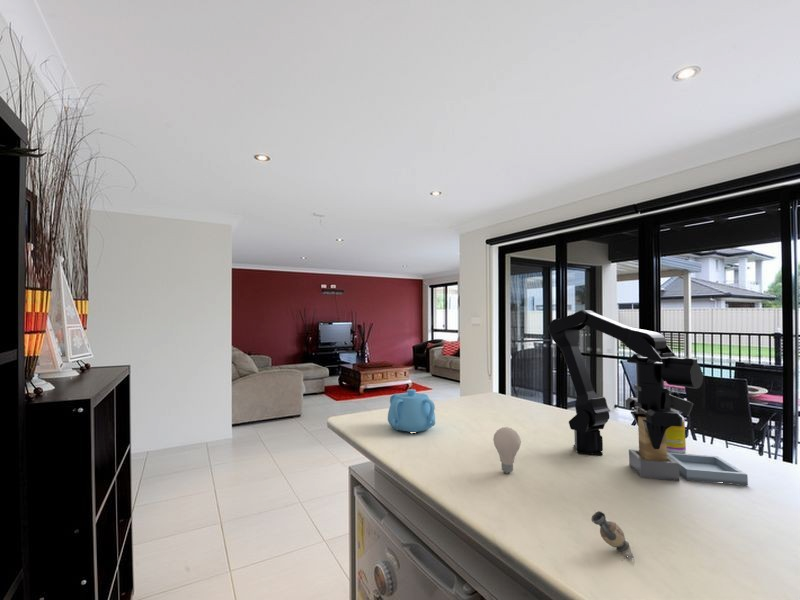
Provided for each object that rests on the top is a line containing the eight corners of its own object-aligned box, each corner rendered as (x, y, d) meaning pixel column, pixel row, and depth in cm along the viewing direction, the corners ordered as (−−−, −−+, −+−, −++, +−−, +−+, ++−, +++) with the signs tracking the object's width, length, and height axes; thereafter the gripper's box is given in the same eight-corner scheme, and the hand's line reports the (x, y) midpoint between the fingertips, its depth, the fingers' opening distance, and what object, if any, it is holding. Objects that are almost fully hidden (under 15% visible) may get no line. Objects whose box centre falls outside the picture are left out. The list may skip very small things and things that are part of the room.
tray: (687, 480, 89) (686, 469, 89) (664, 461, 100) (664, 452, 100) (747, 485, 86) (747, 474, 86) (717, 466, 97) (717, 456, 97)
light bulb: (521, 469, 95) (520, 425, 95) (521, 479, 89) (520, 432, 89) (494, 466, 97) (494, 422, 98) (492, 476, 91) (491, 429, 91)
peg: (646, 467, 91) (644, 421, 92) (639, 460, 96) (637, 416, 96) (667, 468, 90) (665, 422, 91) (659, 462, 95) (657, 417, 95)
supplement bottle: (690, 455, 106) (689, 408, 106) (664, 453, 107) (662, 407, 108) (678, 447, 112) (676, 403, 113) (653, 445, 113) (652, 402, 114)
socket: (641, 477, 90) (640, 460, 90) (629, 465, 98) (628, 449, 98) (679, 481, 88) (678, 463, 88) (664, 468, 96) (663, 452, 96)
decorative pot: (385, 436, 123) (385, 393, 123) (389, 422, 139) (389, 385, 139) (435, 437, 122) (435, 394, 123) (433, 423, 138) (433, 385, 139)
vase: (596, 558, 59) (593, 518, 60) (590, 542, 64) (588, 505, 65) (635, 564, 58) (632, 523, 59) (625, 547, 63) (623, 509, 64)
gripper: (708, 390, 83) (711, 462, 82) (670, 378, 101) (672, 437, 100) (651, 388, 86) (653, 457, 85) (623, 376, 104) (625, 434, 103)
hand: (652, 445), depth 93 cm, fingers closed on peg, 4 cm apart
